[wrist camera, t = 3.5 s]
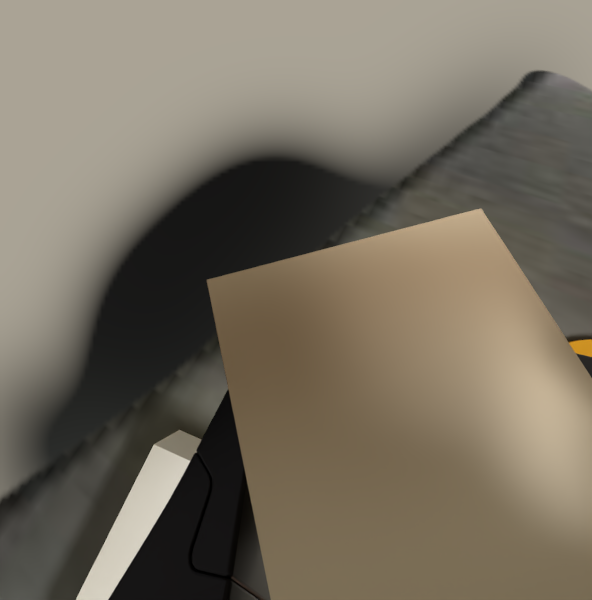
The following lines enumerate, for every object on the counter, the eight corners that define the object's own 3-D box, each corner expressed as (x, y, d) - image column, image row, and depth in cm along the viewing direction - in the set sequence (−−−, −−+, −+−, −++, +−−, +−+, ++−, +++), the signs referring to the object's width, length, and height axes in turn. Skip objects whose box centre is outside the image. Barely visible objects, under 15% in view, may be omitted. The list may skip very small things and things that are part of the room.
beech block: (359, 396, 14) (699, 542, 2) (291, 420, 13) (300, 752, 2) (335, 329, 15) (481, 208, 4) (272, 348, 15) (206, 279, 3)
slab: (268, 749, 10) (260, 906, 7) (79, 644, 11) (1, 746, 8) (336, 496, 13) (350, 533, 10) (182, 427, 13) (153, 444, 11)
